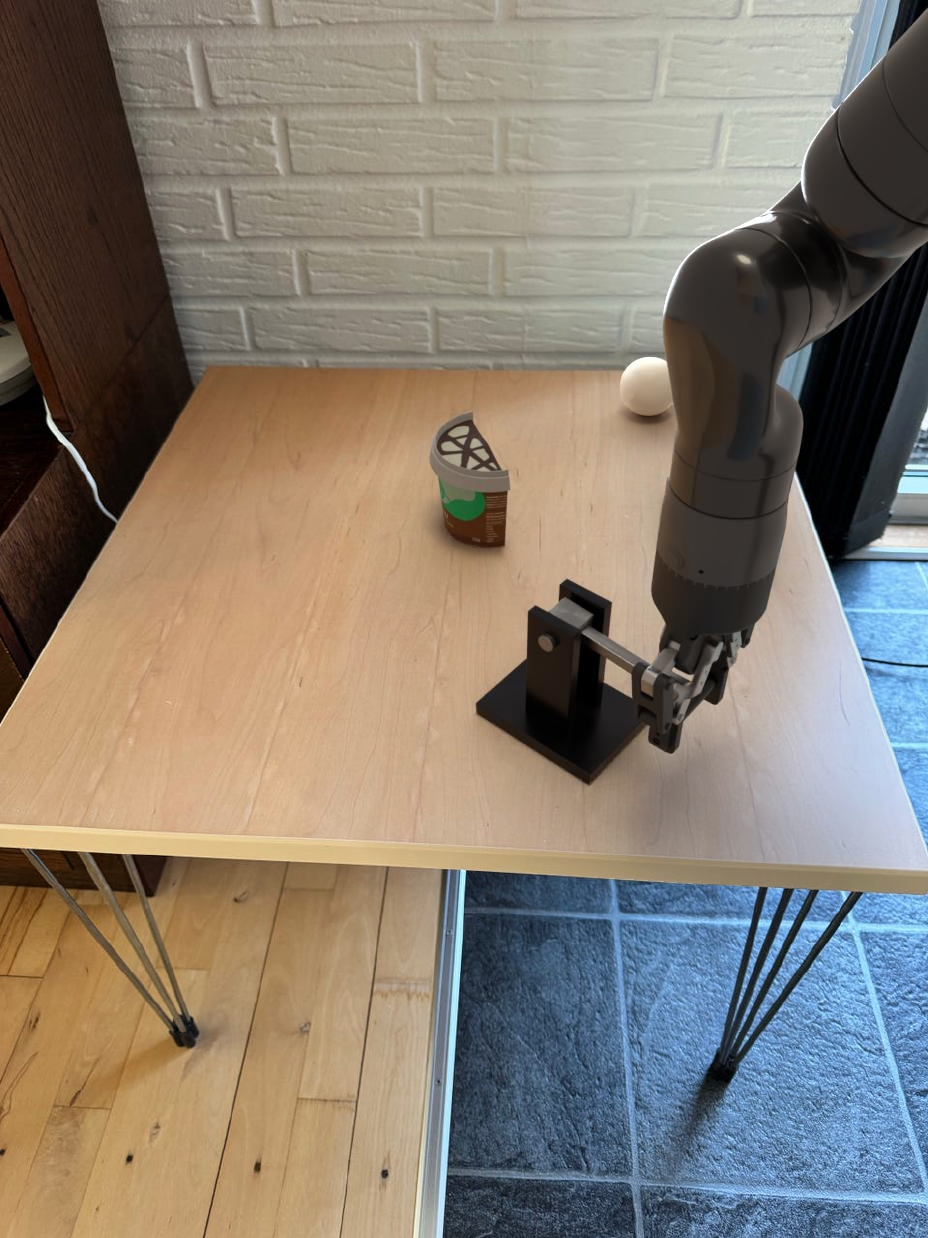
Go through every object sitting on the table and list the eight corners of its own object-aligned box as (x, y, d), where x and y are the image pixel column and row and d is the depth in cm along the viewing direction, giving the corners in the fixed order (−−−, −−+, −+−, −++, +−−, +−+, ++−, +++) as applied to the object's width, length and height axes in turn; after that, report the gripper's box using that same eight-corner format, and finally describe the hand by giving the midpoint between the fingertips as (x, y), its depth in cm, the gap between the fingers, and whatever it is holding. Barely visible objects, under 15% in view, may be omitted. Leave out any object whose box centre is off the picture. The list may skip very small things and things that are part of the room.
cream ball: (688, 416, 117) (696, 366, 112) (636, 430, 115) (642, 380, 110) (658, 390, 121) (664, 341, 117) (608, 404, 119) (612, 354, 115)
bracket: (651, 719, 82) (669, 609, 73) (588, 785, 77) (599, 675, 69) (540, 655, 88) (544, 546, 79) (475, 712, 83) (472, 603, 75)
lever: (713, 694, 72) (721, 673, 71) (673, 737, 70) (680, 717, 68) (573, 606, 78) (577, 585, 76) (531, 643, 75) (534, 622, 73)
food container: (419, 498, 106) (414, 419, 99) (472, 487, 107) (471, 408, 101) (452, 566, 98) (448, 485, 91) (509, 553, 99) (510, 472, 92)
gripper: (710, 631, 55) (676, 808, 66) (826, 512, 63) (778, 689, 74) (602, 577, 59) (587, 754, 70) (724, 471, 66) (693, 646, 78)
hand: (685, 720), depth 72 cm, fingers closed on lever, 5 cm apart
